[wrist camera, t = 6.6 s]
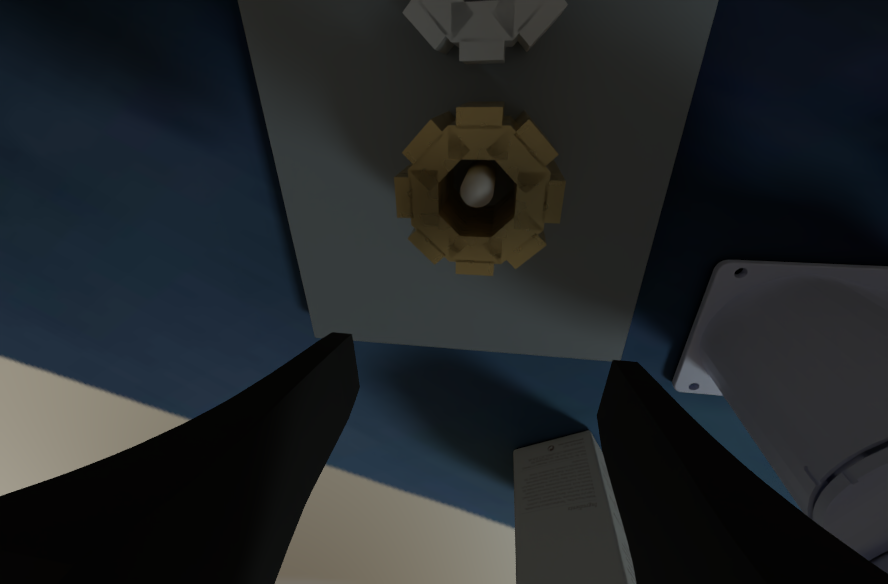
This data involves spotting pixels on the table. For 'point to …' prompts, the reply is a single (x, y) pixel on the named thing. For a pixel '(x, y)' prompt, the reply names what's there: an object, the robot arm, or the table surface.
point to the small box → (567, 516)
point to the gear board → (478, 181)
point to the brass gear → (492, 226)
